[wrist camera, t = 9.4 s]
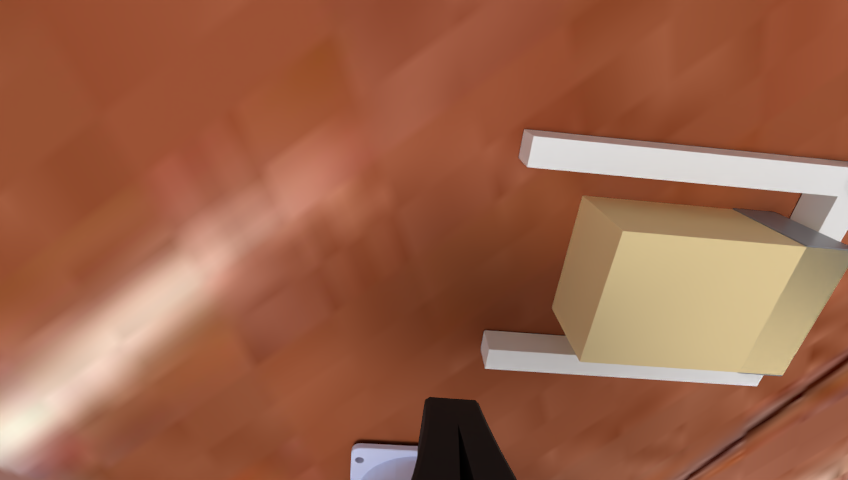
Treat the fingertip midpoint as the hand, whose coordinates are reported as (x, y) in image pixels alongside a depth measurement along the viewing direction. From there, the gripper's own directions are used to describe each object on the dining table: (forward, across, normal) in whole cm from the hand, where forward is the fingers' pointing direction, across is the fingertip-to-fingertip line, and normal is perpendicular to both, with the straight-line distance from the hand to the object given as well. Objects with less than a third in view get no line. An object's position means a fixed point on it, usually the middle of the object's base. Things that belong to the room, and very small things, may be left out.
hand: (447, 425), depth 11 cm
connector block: (+10, -11, -1) cm, 14 cm away
